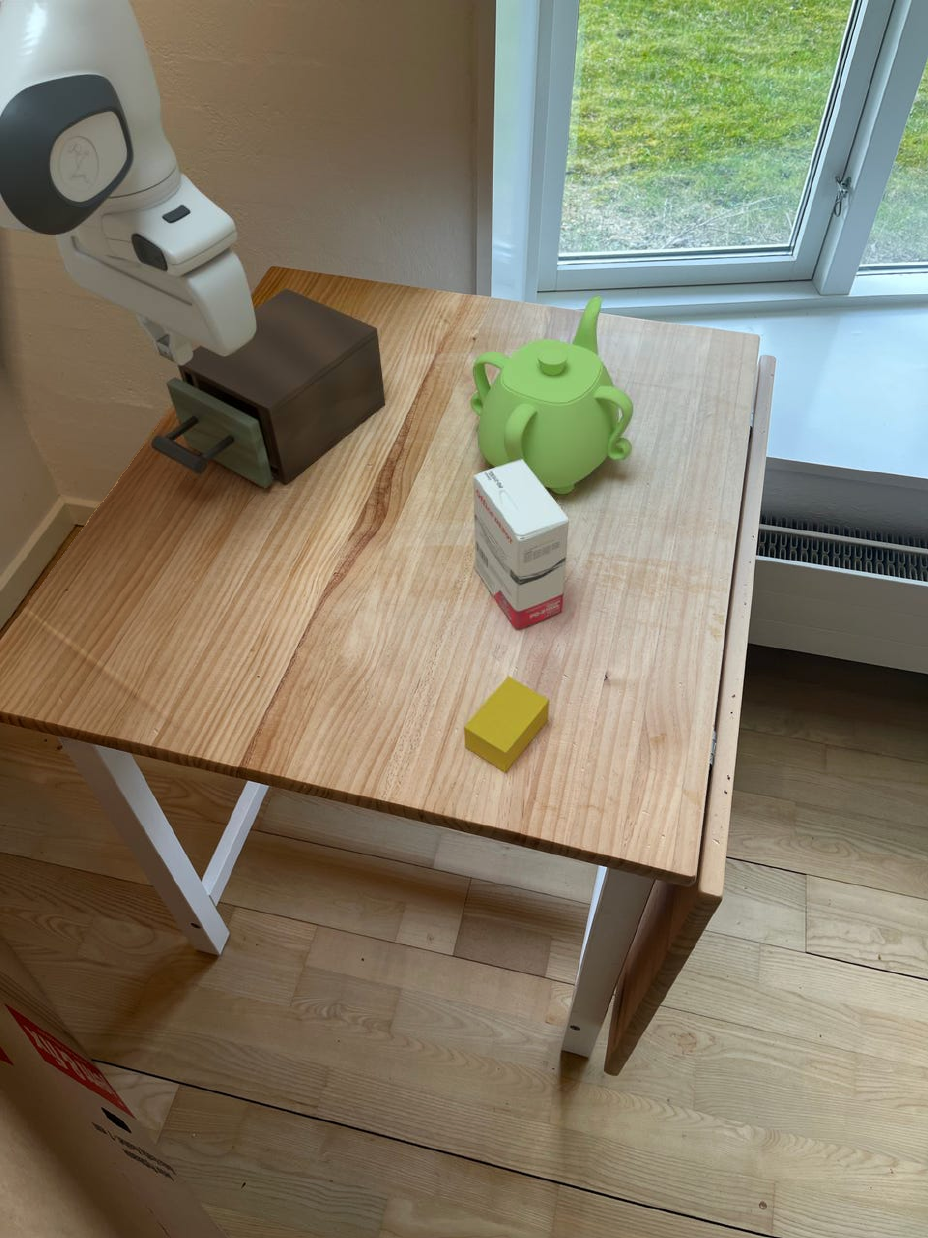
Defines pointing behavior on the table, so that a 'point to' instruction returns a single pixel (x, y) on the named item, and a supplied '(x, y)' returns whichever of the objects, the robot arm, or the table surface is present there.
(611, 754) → the table surface
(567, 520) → the ink box
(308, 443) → the cabinet
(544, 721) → the sponge
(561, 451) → the teapot
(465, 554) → the table surface
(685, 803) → the table surface
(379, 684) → the table surface
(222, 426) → the drawer
